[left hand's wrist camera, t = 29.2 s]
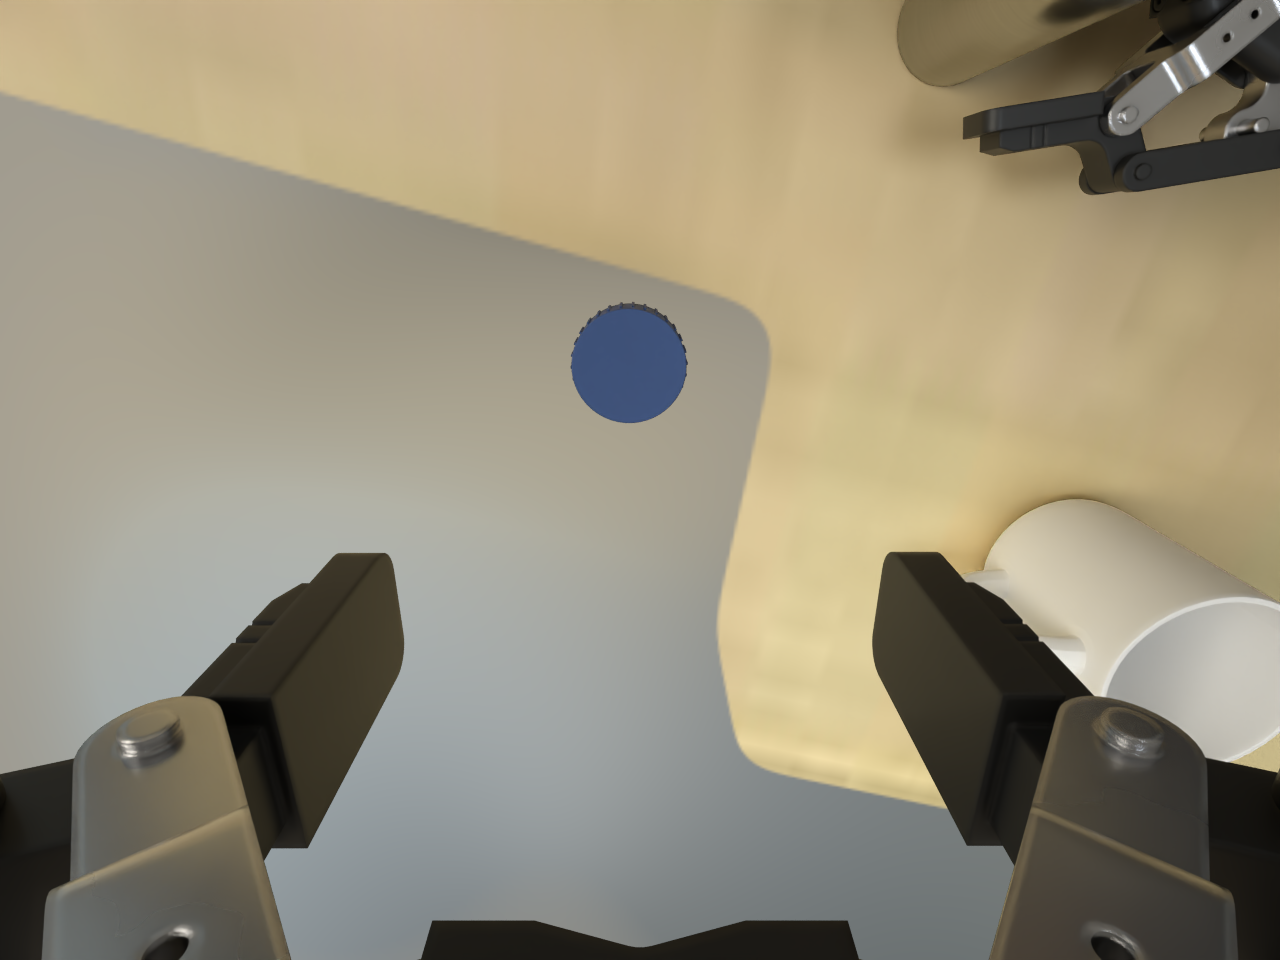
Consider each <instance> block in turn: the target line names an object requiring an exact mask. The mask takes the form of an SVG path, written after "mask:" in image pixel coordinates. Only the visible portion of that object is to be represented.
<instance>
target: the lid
mask: <svg viewBox="0 0 1280 960" xmlns="http://www.w3.org/2000/svg"><path fill="white" fill-rule="evenodd" d="M579 334H580V336H579V338H578V337H577V339H576V341H575V343H574V345H575V347H574V350H573V352H572V354H571V357H572V365H571V369H572V376H573V381H574V384H575V386H576V389H577V391H578V393H579V394H580V396H581V398H582V399H583V400H584V402H585V403H586V404H587V405H588V406H589V407H590V408H591V409H592V410H593V411H595V412H596V413H598V414H599V415H601V416H603V417H605V418H607V419H610V420H613V421H616V422H622V423H636V422H642V421H646V420H649V419H651V418H654V417H656V416H658V415H659V414H661V413H662V412H664V411H665V410H666V409H667V408H668V407H669V406H671V404H672V403H673V402H674V401H675V400H676V398H677V396H678V395H679V393H680V391H681V389H682V388H683V384H684V381H685V377H686V375H687V374H686V365H687V364H688V362H687V360H686V356H685V353H686V349H685V347H684V345H682V343H681V341H683V340H682V338H681V335H680V334H678V333H677V331H676V327H675V325H674V324H671V323H670V322H669V320H668V319H667V316H666V315H665V316H663V315H662V314H661V313H659V312H658V311H657V309H655V310H654V309H652V308H649V307H647V306H646V304H644V306H643V305H639V304H634V302H632V304H623V303H622V302H621V303H620V304H619V305H615V306H612V307H611V305H609V306H608V308H607V309H605V310H603V311H598V313H597V315H596V316H594V317H593V318H592V319H591V318H590V319H589V320H588V322H587V325H586V326H585V327H582V329H581V331H580V333H579Z"/></svg>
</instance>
